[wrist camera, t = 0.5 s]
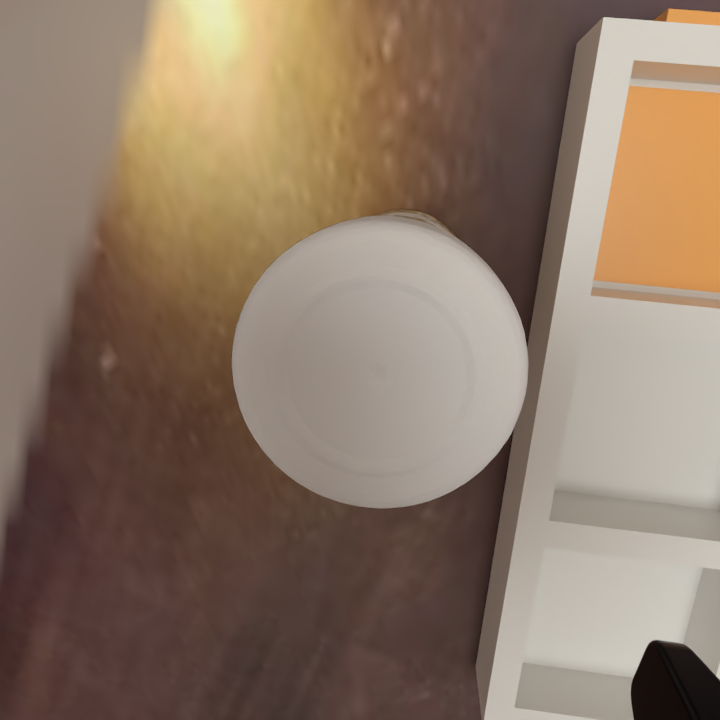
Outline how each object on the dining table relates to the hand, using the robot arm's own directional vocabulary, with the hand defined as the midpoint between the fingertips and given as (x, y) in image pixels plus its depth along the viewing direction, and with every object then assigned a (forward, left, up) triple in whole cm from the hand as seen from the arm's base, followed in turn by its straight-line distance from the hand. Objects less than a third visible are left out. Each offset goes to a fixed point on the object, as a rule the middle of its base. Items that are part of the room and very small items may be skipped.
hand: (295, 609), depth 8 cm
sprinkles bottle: (+3, -1, -15) cm, 16 cm away
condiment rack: (-1, -10, -15) cm, 18 cm away
